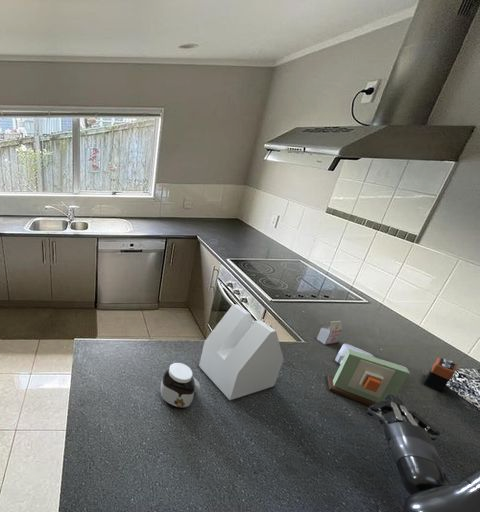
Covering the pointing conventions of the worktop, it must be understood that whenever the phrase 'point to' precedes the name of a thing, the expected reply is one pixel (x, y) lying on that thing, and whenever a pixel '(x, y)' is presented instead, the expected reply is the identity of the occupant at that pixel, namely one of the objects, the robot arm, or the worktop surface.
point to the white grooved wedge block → (241, 354)
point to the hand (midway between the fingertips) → (391, 397)
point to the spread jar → (178, 386)
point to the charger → (344, 350)
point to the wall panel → (357, 372)
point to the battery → (440, 374)
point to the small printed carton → (330, 332)
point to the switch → (372, 384)
